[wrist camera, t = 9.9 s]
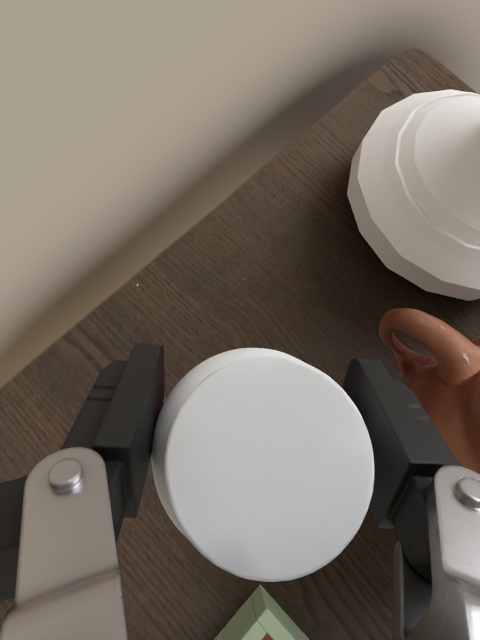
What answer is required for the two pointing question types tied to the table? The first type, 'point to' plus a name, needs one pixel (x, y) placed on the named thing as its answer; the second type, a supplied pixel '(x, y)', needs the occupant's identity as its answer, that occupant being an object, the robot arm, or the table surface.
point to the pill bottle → (263, 464)
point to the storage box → (261, 621)
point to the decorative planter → (441, 378)
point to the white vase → (423, 191)
